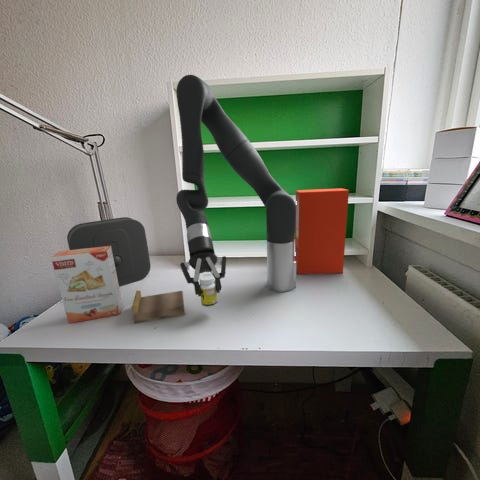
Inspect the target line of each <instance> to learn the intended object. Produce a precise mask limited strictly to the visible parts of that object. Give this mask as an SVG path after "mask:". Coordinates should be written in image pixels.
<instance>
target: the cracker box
mask: <svg viewBox="0 0 480 480" xmlns="http://www.w3.org/2000/svg"><path fill="white" fill-rule="evenodd" d="M50 259H51V262H52V266H53V270H54V274H55V278H56V281H57V285H58V288H59V289H58V290H59V292H60V296H61V300H62V304H63V308H64V312H65V315H66V319H67V323H68V324H72V323H78V322H79V323H80V322H84V321H90V320H96V319H102V318H109V317H113V316H119V315H120V314H121V312H122V308H123V300H122V295H121V290H120V287H119V284H118V278H117V273H116V268H115V263H114V258H113V253H112V248H111V246H104V247H95V248H85V249H75V250H70V249H68V250H60V251H58V252H56V253H55V254H54V255H52V256H51V258H50Z"/></svg>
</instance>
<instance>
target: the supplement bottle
mask: <svg viewBox="0 0 480 480" xmlns="http://www.w3.org/2000/svg"><path fill="white" fill-rule="evenodd" d="M199 286H200V292H201V296H200V301H201V306H202V307H204V308H212V307H215V306H216V305H218V303H219V302H218V300H219V298H218V293H217V290H216V283H215V278H214V276H213V275H212V274H209V273H208V274H203V275H201V276H199Z"/></svg>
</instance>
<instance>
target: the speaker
mask: <svg viewBox="0 0 480 480" xmlns="http://www.w3.org/2000/svg"><path fill="white" fill-rule="evenodd" d="M66 239H67V240H66V241H67V244H68V250H75V249H85V248H95V247H104V246H111V248H112V253H113V258H114V263H115V268H116V273H117V278H118V284H119V288H120V287H123V286H126V285H130V284H133V283H136V282H138V281H141V280H144V279H145V278H146V277H147V276H148V274H149V273H150V271H151V266H152V265H151V259H150V253H149V247H148V240H147V234H146V229H145V226H144V225H143V223H142V222H141V221H138V219H137V220H136V219H134V218H131V217H126V216H124V217H116V218H108V219H102V220H95V221H89V222H84V223H83V222H82V223H78V224H75V225H74V226H73V227H71V228H70V229H69V231H68V233H67V236H66Z"/></svg>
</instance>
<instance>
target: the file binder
mask: <svg viewBox="0 0 480 480" xmlns="http://www.w3.org/2000/svg"><path fill="white" fill-rule="evenodd" d="M349 192H350V190H349V189H345V188H323V189H322V188H321V189H302V190H301V189H299V190H295V202H296V201H297V205H296V204H295V205H296V224H295V234H294V253H295V252H296V256H295V255H294V261H295V262H296V274H297V275H319V274H320V275H321V274H344V264H345V263H344V261H345V249H346V248H345V247H346V235H347V224H348V223H347V222H348V221H347V220H348V207H349V194H350V193H349Z"/></svg>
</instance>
